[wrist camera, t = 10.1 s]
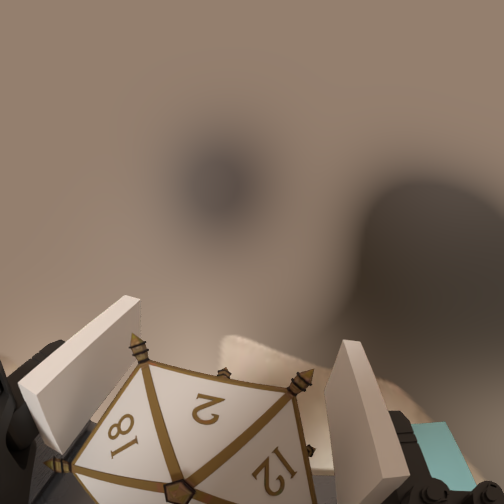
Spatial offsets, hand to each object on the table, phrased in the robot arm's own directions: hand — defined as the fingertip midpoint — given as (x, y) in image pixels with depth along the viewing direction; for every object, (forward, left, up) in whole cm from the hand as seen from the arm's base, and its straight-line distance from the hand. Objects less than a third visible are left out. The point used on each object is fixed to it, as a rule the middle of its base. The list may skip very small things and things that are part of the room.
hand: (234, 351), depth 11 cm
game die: (-5, +1, -6) cm, 8 cm away
